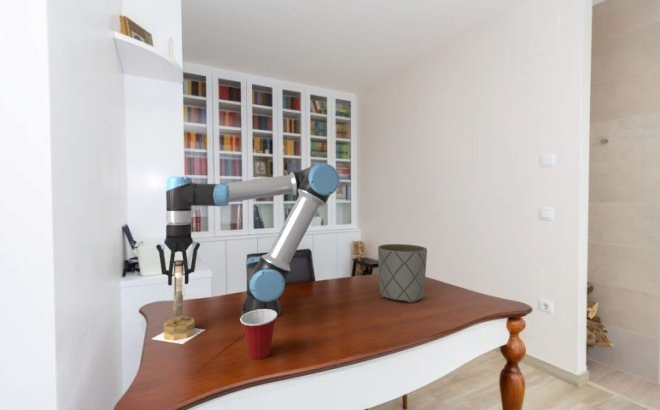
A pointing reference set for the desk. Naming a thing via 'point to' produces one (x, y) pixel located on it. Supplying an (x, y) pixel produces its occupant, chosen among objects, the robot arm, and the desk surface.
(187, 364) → the desk surface
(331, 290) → the desk surface
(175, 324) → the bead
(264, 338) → the plastic cup
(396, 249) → the planter
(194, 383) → the desk surface
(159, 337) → the mat
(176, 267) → the stone peg
